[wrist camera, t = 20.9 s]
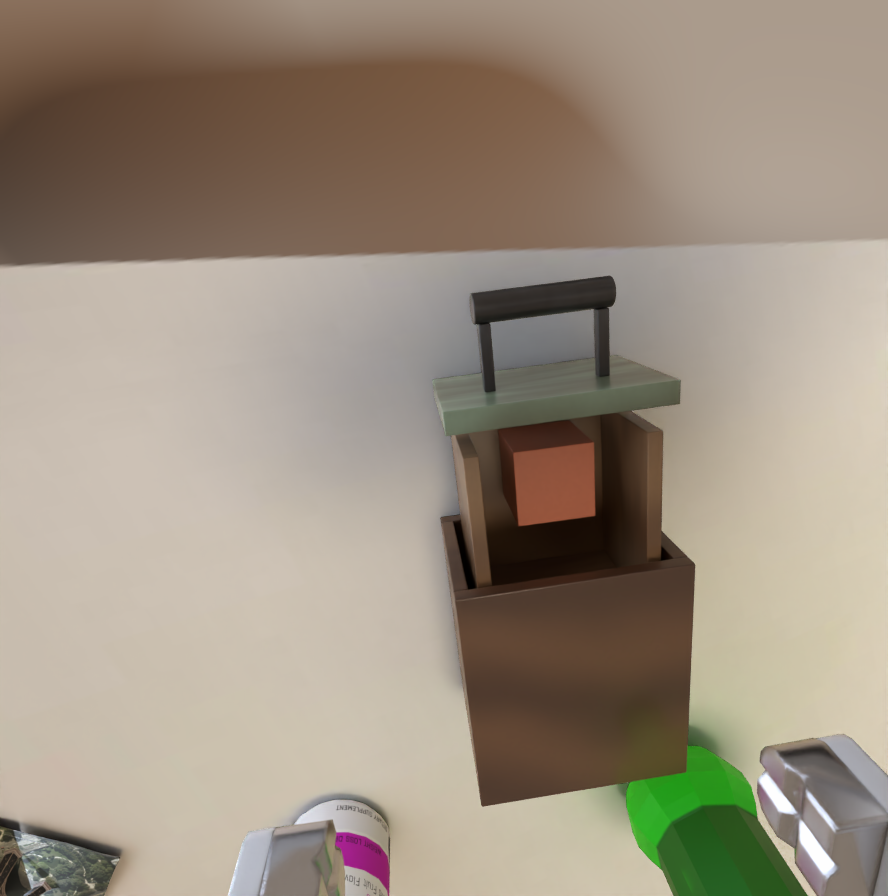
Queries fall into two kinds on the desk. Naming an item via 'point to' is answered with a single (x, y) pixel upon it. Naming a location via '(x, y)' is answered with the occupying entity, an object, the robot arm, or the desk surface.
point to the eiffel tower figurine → (51, 867)
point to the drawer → (544, 401)
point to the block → (547, 472)
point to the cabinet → (574, 674)
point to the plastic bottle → (707, 832)
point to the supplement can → (358, 844)
